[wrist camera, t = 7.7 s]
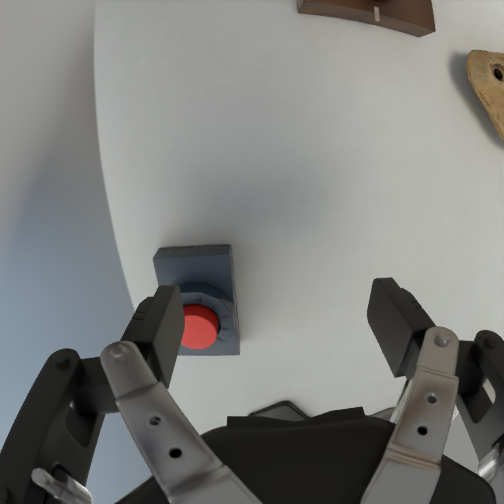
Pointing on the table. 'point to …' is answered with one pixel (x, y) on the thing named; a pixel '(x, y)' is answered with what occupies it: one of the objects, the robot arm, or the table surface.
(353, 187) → the table surface
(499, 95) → the oil lamp
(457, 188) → the table surface
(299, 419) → the smartphone
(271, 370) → the table surface
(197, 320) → the power button
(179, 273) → the button box
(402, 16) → the panel
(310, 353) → the table surface
